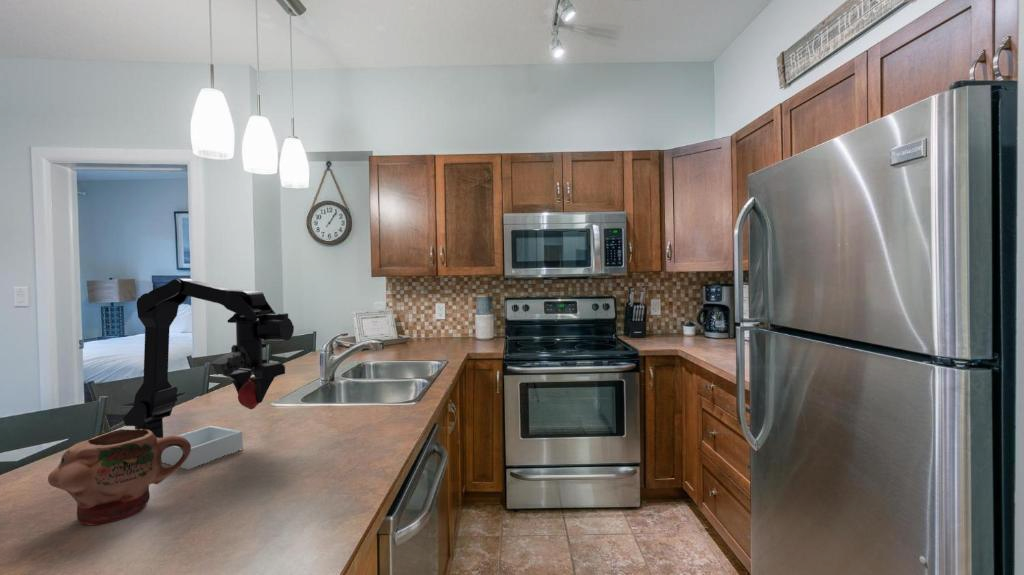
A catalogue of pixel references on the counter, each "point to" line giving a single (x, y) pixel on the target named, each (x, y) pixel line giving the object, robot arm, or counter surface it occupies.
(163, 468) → the tan novelty mug
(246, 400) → the onion
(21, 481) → the counter surface
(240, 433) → the bin
